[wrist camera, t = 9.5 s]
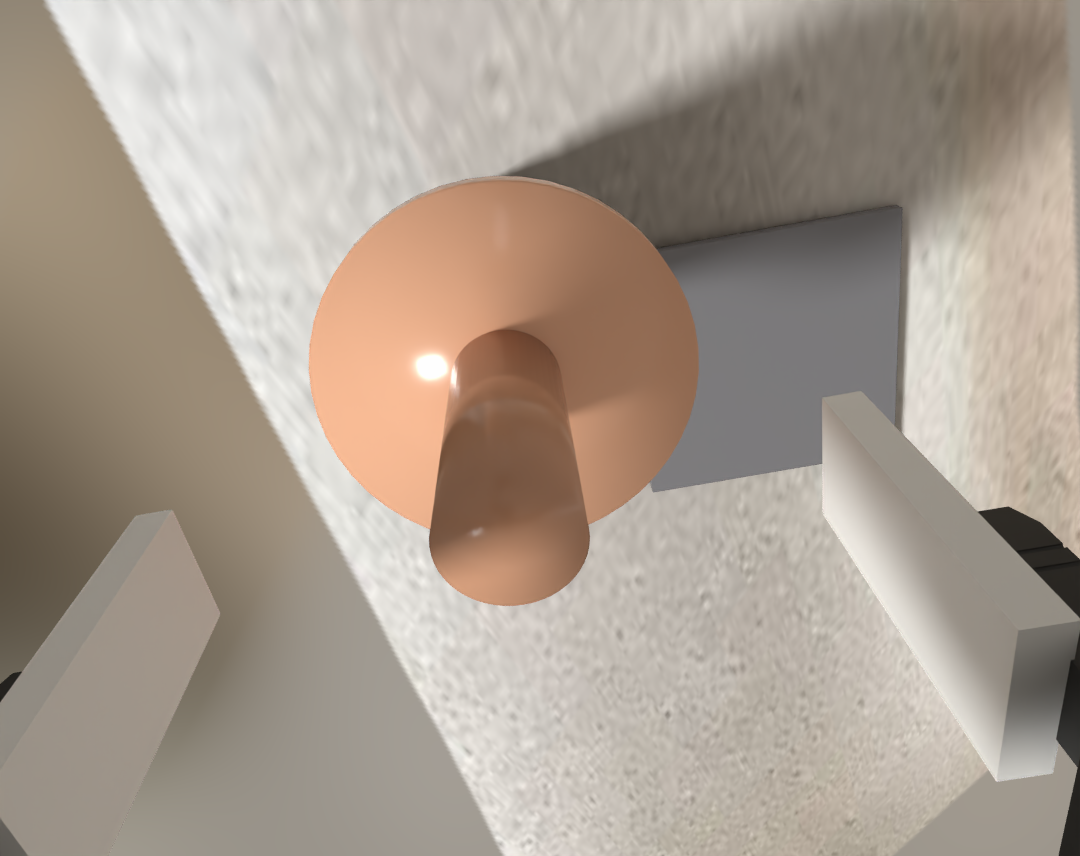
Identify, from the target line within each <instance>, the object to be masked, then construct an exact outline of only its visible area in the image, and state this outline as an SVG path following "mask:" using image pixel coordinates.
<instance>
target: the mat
mask: <svg viewBox="0 0 1080 856" xmlns="http://www.w3.org/2000/svg"><path fill="white" fill-rule="evenodd" d="M902 209H903V208H902V207H900V206H898V205H895V206H889V207H884V208H878V209H873V210H867V211H862V212H856V213H851V214H845V215H840V216H834V217H829V218H823V219H817V220H812V221H806V222H801V223H795V224H790V225H784V226H779V227H773V228H768V229H762V230H757V231H751V232H746V233H740V234H735V235H729V236H724V237H718V238H713V239H707V240H702V241H696V242H691V243H685V244H680V245H674V246H668V247H663V248H657V250H658V252H659V253H660V255H661V256H662V257H663V259H664V260H665V262H666V263H667V265H668V266H669V268H670V269H671V271H672V272H673V274H674V275H675V277H676V279H677V280H678V282H679V285H680V287H681V289H682V291H683V293H684V295H685V297H686V299H687V301H688V305H689V308H690V311H691V314H692V318H693V321H694V324H695V330H696V336H697V342H698V352H699V374H698V382H697V390H696V396H695V400H694V404H693V407H692V411H691V415H690V418H689V420H688V423H687V425H686V427H685V430H684V432H683V435H682V437H681V439H680V441H679V442H678V444H677V446H676V448H675V449H674V451H673V453H672V454H671V456H670V458H669V459H668V460H667V462H666V463H665V464H664V466H663V467H662V468H661V470H660V471H659V472H658V473H657V475H656V476H655V477H654V478H653V479H652V480H651V488H652V491H653V492H659V491H665V490H670V489H676V488H682V487H688V486H694V485H700V484H706V483H712V482H717V481H723V480H729V479H735V478H741V477H747V476H753V475H759V474H764V473H770V472H776V471H782V470H788V469H794V468H800V467H806V466H811V465H817V464H822V398H823V397H829V396H835V395H841V394H847V393H852V392H858V391H862V392H863V393H864V394H865V395H866V396H867V397H868V398H869V400H870V401H871V402H872V403H873V404H874V405H875V406H876V407H877V408H878V409H879V410H880V411H881V412H882V413H883V414H884V415H885V416H886V417H887V418H888V419H889V420H890V421H891V422H892V423H893V424H894V426H895V407H896V379H897V351H898V322H899V294H900V266H901V237H902Z"/></svg>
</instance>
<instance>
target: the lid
mask: <svg viewBox="0 0 1080 856" xmlns="http://www.w3.org/2000/svg"><path fill="white" fill-rule="evenodd" d="M698 374H699V352H698V342H697V336H696V330H695V324H694V321H693V318H692V314H691V311H690V308H689V305H688V301H687V299H686V297H685V295H684V293H683V291H682V289H681V287H680V285H679V282H678V280H677V279H676V277H675V275H674V274H673V272H672V271H671V269H670V268H669V266H668V265H667V263H666V262H665V260H664V259H663V257H662V256H661V255H660V253H659V252H658V250H657V249H656V248H655V247H654V246H653V244H652V243H651V242H650V241H649V240H648V239H647V238H646V237H645V235H644V234H643V233H642V232H641V231H640V230H639V229H638V228H637V227H636V226H634V225H633V224H632V223H631V222H630V221H628V220H627V219H626V218H625V217H624V216H623V215H621V214H620V213H619V212H617V211H616V210H614V209H612V208H611V207H609V206H608V205H606V204H604V203H603V202H601V201H600V200H598V199H596V198H594V197H592V196H589V195H587V194H585V193H583V192H581V191H578V190H576V189H574V188H571V187H567V186H564V185H561V184H557V183H554V182H551V181H547V180H540V179H534V178H528V177H521V176H489V177H481V178H472V179H465V180H461V181H457V182H454V183H450V184H446V185H442V186H439V187H437V188H434V189H432V190H429V191H427V192H424V193H422V194H419V195H417V196H415V197H413V198H411V199H410V200H408V201H406V202H405V203H403V204H401V205H399V206H398V207H396V208H394V209H393V210H391V211H390V212H389V213H388V214H386V215H385V216H384V217H382V218H381V219H380V220H379V221H377V222H376V223H375V224H374V225H372V226H371V227H370V228H369V230H368V231H367V232H366V233H365V234H364V235H363V236H362V237H361V238H360V239H359V240H358V241H357V242H356V243H355V244H354V246H353V247H352V249H351V250H350V251H349V253H348V254H347V256H346V257H345V258H344V260H343V261H342V263H341V264H340V266H339V267H338V269H337V270H336V272H335V273H334V275H333V277H332V279H331V280H330V282H329V284H328V286H327V288H326V290H325V292H324V294H323V296H322V299H321V302H320V305H319V308H318V310H317V313H316V316H315V319H314V324H313V329H312V335H311V340H310V350H309V375H310V384H311V393H312V397H313V400H314V404H315V408H316V412H317V416H318V418H319V421H320V423H321V425H322V428H323V430H324V433H325V435H326V437H327V439H328V441H329V443H330V444H331V446H332V448H333V450H334V451H335V453H336V455H337V457H338V458H339V459H340V461H341V462H342V463H343V465H344V466H345V467H346V468H347V470H348V471H349V472H350V474H351V475H352V476H353V477H354V478H355V479H356V480H357V481H358V482H359V483H360V484H361V485H362V486H363V487H364V488H365V489H366V490H367V491H368V492H369V493H370V494H371V495H373V496H374V497H375V498H376V499H378V500H379V501H380V502H382V503H383V504H384V505H385V506H387V507H388V508H390V509H392V510H393V511H395V512H396V513H398V514H400V515H401V516H403V517H405V518H406V519H409V520H411V521H413V522H415V523H417V524H419V525H421V526H424V527H426V528H428V529H430V535H429V547H430V552H431V556H432V559H433V562H434V564H435V566H436V568H437V570H438V571H439V573H440V574H441V575H442V577H443V578H444V579H445V580H446V581H447V582H448V583H449V584H450V585H451V586H452V587H453V588H455V589H456V590H457V591H459V592H461V593H462V594H464V595H466V596H468V597H470V598H472V599H474V600H477V601H480V602H483V603H488V604H493V605H502V606H515V605H524V604H529V603H533V602H536V601H539V600H542V599H545V598H547V597H549V596H551V595H553V594H555V593H556V592H558V591H560V590H561V589H562V588H564V587H565V586H566V585H567V584H569V583H570V582H571V580H572V579H573V578H574V577H575V576H576V575H577V573H578V572H579V571H580V569H581V567H582V566H583V564H584V562H585V559H586V557H587V554H588V549H589V542H590V535H589V526H588V525H589V524H591V523H593V522H595V521H597V520H599V519H601V518H603V517H605V516H607V515H608V514H610V513H611V512H613V511H615V510H616V509H618V508H619V507H621V506H623V505H624V504H625V503H626V502H628V501H629V500H630V499H631V498H633V497H634V496H635V495H636V494H638V493H639V492H640V491H641V490H642V489H643V488H644V487H645V486H646V485H647V484H648V483H649V482H650V481H651V480H652V479H653V478H654V477H655V476H656V475H657V473H658V472H659V471H660V470H661V468H662V467H663V466H664V464H665V463H666V462H667V460H668V459H669V458H670V456H671V454H672V453H673V451H674V449H675V448H676V446H677V444H678V442H679V441H680V439H681V437H682V435H683V432H684V430H685V427H686V425H687V423H688V420H689V418H690V415H691V411H692V407H693V404H694V400H695V396H696V390H697V382H698Z"/></svg>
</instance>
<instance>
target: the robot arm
mask: <svg viewBox="0 0 1080 856" xmlns="http://www.w3.org/2000/svg"><path fill="white" fill-rule="evenodd" d="M822 472H823V515H824V516H825V518H826V519H827V521H828V523H829V524H830V526H831V527H832V529H833V530H834V532H835V533H836V535H837V536H838V538H839V540H840V541H841V543H842V544H843V546H844V547H845V549H846V550H847V552H848V553H849V555H850V557H851V558H852V560H853V561H854V563H855V564H856V566H857V567H858V569H859V570H860V572H861V573H862V575H863V577H864V578H865V580H866V581H867V583H868V584H869V586H870V587H871V589H872V590H873V592H874V594H875V595H876V597H877V598H878V600H879V601H880V603H881V604H882V606H883V607H884V609H885V611H886V612H887V614H888V615H889V617H890V618H891V620H892V621H893V623H894V624H895V626H896V627H897V629H898V631H899V632H900V634H901V635H902V637H903V638H904V640H905V641H906V643H907V644H908V646H909V648H910V649H911V651H912V652H913V654H914V655H915V657H916V658H917V660H918V661H919V663H920V665H921V666H922V668H923V669H924V671H925V672H926V674H927V675H928V677H929V678H930V680H931V681H932V683H933V685H934V686H935V688H936V689H937V691H938V692H939V694H940V695H941V697H942V698H943V700H944V702H945V703H946V705H947V706H948V708H949V709H950V711H951V712H952V714H953V715H954V717H955V718H956V720H957V722H958V723H959V725H960V726H961V728H962V729H963V731H964V732H965V734H966V735H967V737H968V739H969V740H970V742H971V743H972V745H973V746H974V748H975V749H976V751H977V752H978V754H979V756H980V757H981V759H982V760H983V762H984V763H985V765H986V766H987V768H988V769H989V771H990V772H991V774H992V776H993V777H994V779H995V780H996V782H999V781H1005V780H1012V779H1018V778H1025V777H1032V776H1038V775H1044V774H1051V773H1053V769H1054V764H1055V759H1056V754H1057V748H1058V743H1059V744H1060V745H1061V746H1062V748H1063V749H1064V750H1065V751H1066V753H1067V754H1068V755H1069V757H1070V758H1071V759H1072V761H1073V762H1074V763H1075V765H1076V766H1077V767H1078V769H1077V774H1076V778H1075V783H1074V787H1073V793H1072V797H1071V801H1070V806H1069V810H1068V815H1067V819H1066V824H1065V829H1064V833H1063V838H1062V842H1061V847H1060V851H1059V856H1080V559H1079V558H1078V557H1077V556H1076V555H1075V554H1074V553H1072V552H1071V551H1070V550H1069V549H1068V548H1067V547H1066V548H1064V547H1063V543H1062V542H1061V541H1060V540H1059V539H1058V538H1056V537H1055V536H1054V535H1053V534H1052V533H1051V532H1050V531H1049V530H1048V529H1047V528H1046V527H1045V526H1044V525H1043V524H1042V523H1040V522H1038V521H1036V520H1034V519H1032V518H1030V517H1028V516H1026V515H1024V514H1022V513H1020V512H1018V511H1016V510H1014V509H1012V508H1010V507H1003V508H997V509H991V510H985V511H979V512H977V511H976V510H975V509H974V508H973V507H972V506H971V505H970V504H969V502H968V501H967V500H966V499H965V498H964V497H963V496H962V495H961V494H960V493H959V492H958V491H957V490H956V489H955V488H954V487H953V486H952V485H951V484H950V483H949V482H948V481H947V480H946V479H945V478H944V476H943V475H942V474H941V473H940V472H939V471H938V470H937V469H936V468H935V467H934V466H933V465H932V464H931V463H930V462H929V461H928V460H927V459H926V458H925V457H924V456H923V455H922V454H921V453H920V452H919V450H918V449H917V448H916V447H915V446H914V445H913V444H912V443H911V442H910V441H909V440H908V439H907V438H906V437H905V436H904V435H903V434H902V433H901V432H900V431H899V430H898V429H897V428H896V427H895V426H894V424H893V423H892V422H891V421H890V420H889V419H888V418H887V417H886V416H885V415H884V414H883V413H882V412H881V411H880V410H879V409H878V408H877V407H876V406H875V405H874V404H873V403H872V402H871V401H870V400H869V398H868V397H867V396H866V395H865V394H864V393H863V392H862V391H858V392H852V393H847V394H841V395H835V396H829V397H823V398H822ZM219 616H220V612H219V610H218V607H217V605H216V603H215V601H214V599H213V597H212V594H211V592H210V590H209V588H208V586H207V584H206V582H205V579H204V577H203V575H202V573H201V571H200V568H199V566H198V564H197V562H196V560H195V558H194V555H193V553H192V551H191V549H190V547H189V545H188V542H187V541H186V538H185V536H184V534H183V532H182V529H181V527H180V525H179V523H178V521H177V519H176V516H175V514H174V512H173V510H166V511H160V512H154V513H149V514H143V515H137V516H135V517H134V519H133V520H132V521H131V523H130V524H129V526H128V527H127V528H126V530H125V531H124V533H123V534H122V535H121V537H120V538H119V539H118V541H117V542H116V544H115V545H114V546H113V548H112V549H111V551H110V552H109V553H108V555H107V556H106V557H105V559H104V560H103V561H102V563H101V564H100V566H99V567H98V568H97V570H96V571H95V573H94V574H93V575H92V577H91V578H90V579H89V581H88V582H87V584H86V585H85V586H84V588H83V589H82V591H81V592H80V593H79V595H78V596H77V597H76V599H75V600H74V601H73V603H72V604H71V606H70V607H69V608H68V610H67V611H66V612H65V614H64V615H63V617H62V618H61V619H60V621H59V622H58V623H57V625H56V626H55V628H54V629H53V630H52V632H51V633H50V634H49V636H48V637H47V639H46V640H45V642H44V643H43V644H42V646H41V647H40V648H39V650H38V651H37V653H36V654H35V655H34V657H33V658H32V659H31V661H30V662H29V664H28V665H27V666H26V668H25V669H24V670H23V672H17V673H13V674H11V675H10V676H9V677H8V678H7V679H6V680H4V681H3V682H2V683H1V684H0V856H108V855H109V853H110V851H111V848H112V846H113V844H114V842H115V840H116V838H117V836H118V834H119V831H120V829H121V827H122V825H123V823H124V820H125V818H126V816H127V814H128V812H129V810H130V808H131V806H132V803H133V801H134V799H135V797H136V795H137V793H138V791H139V788H140V786H141V784H142V782H143V780H144V778H145V775H146V773H147V771H148V769H149V767H150V765H151V763H152V760H153V758H154V756H155V754H156V752H157V749H158V747H159V745H160V743H161V741H162V739H163V737H164V734H165V732H166V730H167V728H168V726H169V723H170V722H171V719H172V717H173V715H174V713H175V711H176V709H177V707H178V704H179V702H180V700H181V698H182V696H183V693H184V692H185V689H186V687H187V685H188V683H189V681H190V679H191V676H192V674H193V672H194V670H195V668H196V665H197V663H198V661H199V659H200V657H201V655H202V653H203V651H204V648H205V646H206V644H207V642H208V640H209V638H210V636H211V633H212V631H213V629H214V627H215V625H216V622H217V620H218V618H219Z"/></svg>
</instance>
